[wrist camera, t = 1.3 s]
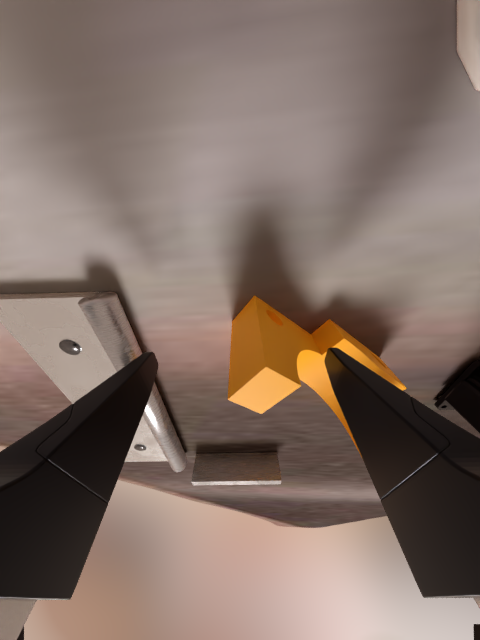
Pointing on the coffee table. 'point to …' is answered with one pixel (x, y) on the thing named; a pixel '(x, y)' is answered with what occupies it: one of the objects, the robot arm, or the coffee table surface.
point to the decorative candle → (469, 38)
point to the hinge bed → (105, 360)
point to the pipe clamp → (288, 359)
